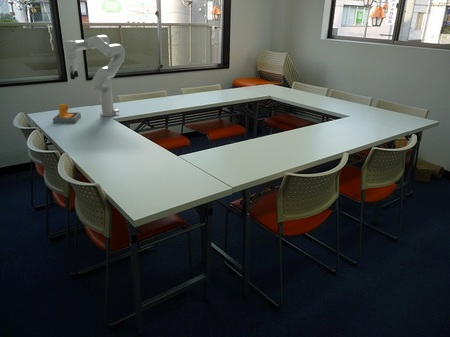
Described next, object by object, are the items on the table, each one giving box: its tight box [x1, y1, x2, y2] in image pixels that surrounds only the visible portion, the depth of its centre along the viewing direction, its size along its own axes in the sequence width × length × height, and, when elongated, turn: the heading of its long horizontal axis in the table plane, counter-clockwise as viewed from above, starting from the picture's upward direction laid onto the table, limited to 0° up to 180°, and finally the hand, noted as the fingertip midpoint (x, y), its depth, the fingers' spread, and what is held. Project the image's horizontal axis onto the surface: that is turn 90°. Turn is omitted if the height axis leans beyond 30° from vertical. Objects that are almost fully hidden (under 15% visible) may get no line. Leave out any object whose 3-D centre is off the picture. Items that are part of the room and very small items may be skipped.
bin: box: [52, 111, 82, 124], centre depth 286 cm, size 16×16×4 cm
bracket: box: [58, 103, 74, 118], centre depth 284 cm, size 11×7×12 cm, turn 177°
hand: (74, 78), depth 299 cm, fingers open, 9 cm apart
